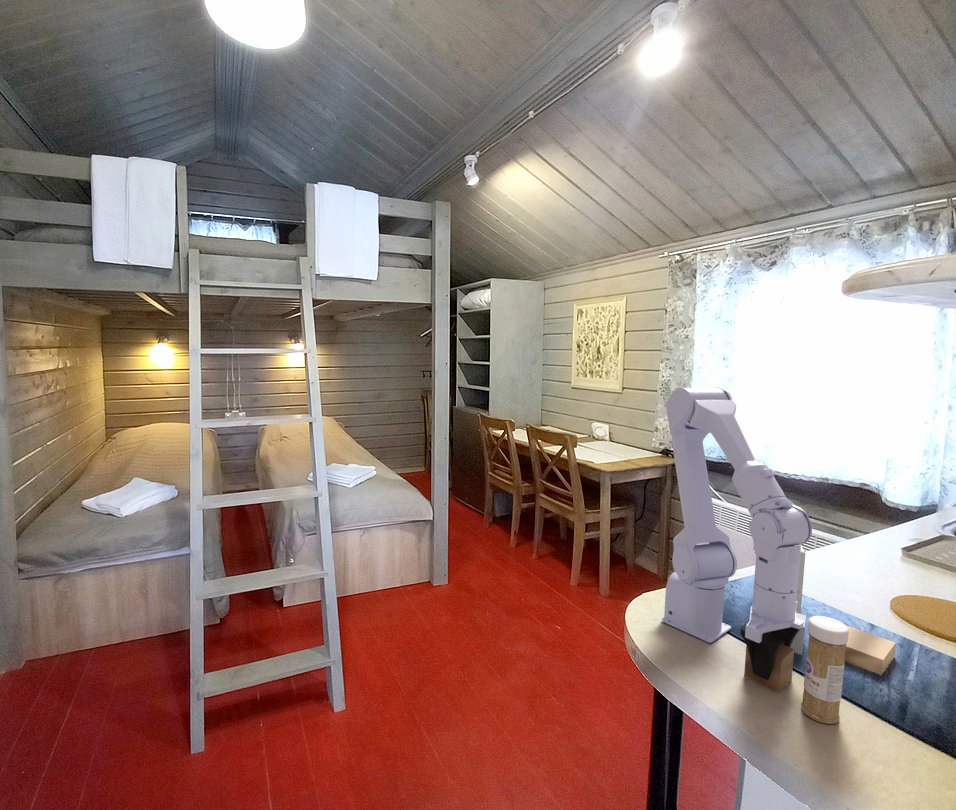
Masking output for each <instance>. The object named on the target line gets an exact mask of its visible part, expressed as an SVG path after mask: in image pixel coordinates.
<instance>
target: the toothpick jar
mask: <svg viewBox="0 0 956 810" xmlns="http://www.w3.org/2000/svg"><path fill="white" fill-rule="evenodd" d="M808 619H809V620H808V624H807V632H808V645H807V657H806V659H805V667H804V668H805V670H804V676H803V677H804V679H803V692H802V693H803V694H802V695H803V696H802V701H801V702H800V704H801V710H802V711H803V713H804V714H805V715H807V716H808V717H809V718H811V719H812V720H814V721H817V722H820V723H821V724H827V725H829V724H830V725H831V724H837V723H838V722H839V721H840V705H841V699H842V693H843V681H844V673H845V672H844V671H845V664H846V662H845V661H844V658H845V647H846V643H847V642H848V633H849V630H848V628H847V626H848V625H847V626H846V624H844V623H843V622H842V621H840V620H838V619H835V618H832V617H829V616H825V615H814V616H810V617H809V618H808Z"/></svg>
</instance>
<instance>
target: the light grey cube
mask: <svg viewBox="0 0 956 810" xmlns="http://www.w3.org/2000/svg"><path fill="white" fill-rule="evenodd" d="M796 618H798V619H800V620H802V621H803V622H804V625H803V627H802V628H801V629H800V630H799V632H798V633H797V634H796V636H795V638H794V640H793V642H792V644H791V646H790V647H791V648H793V649H794V652H795V653H794V654H796V653H798V654H797V655H799V654H801V655H800V656H803V653H802V652H803V651H804V646H803V645H804V644H805V635H806V623H807V614H806V615H805V614H802V613H801V614H799V613H796Z"/></svg>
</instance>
